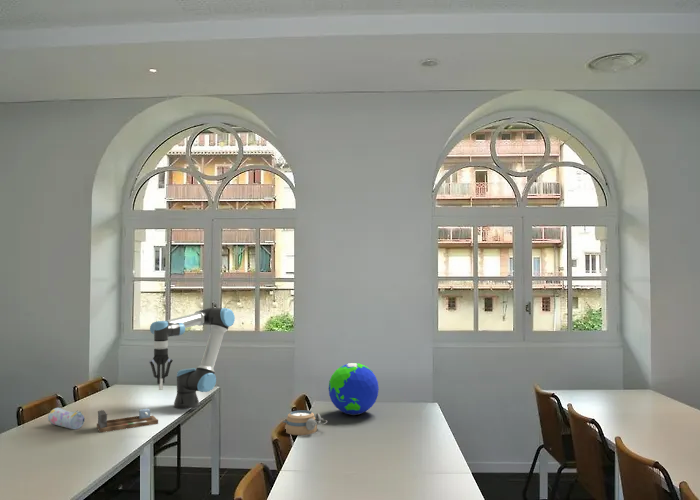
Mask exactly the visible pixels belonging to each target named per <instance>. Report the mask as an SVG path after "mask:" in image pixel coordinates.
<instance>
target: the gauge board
mask: <svg viewBox="0 0 700 500" xmlns="http://www.w3.org/2000/svg"><path fill="white" fill-rule="evenodd" d="M152 425H159V419H158V418H156V417H155V416H154V415H150V417H149V418H142V419H139V415H136V416H134V415H133V416H129V417H121V418H113V419H109V420H108V413H107V412H106V411H105V410H103V409H101V410H98V411H97V423H96V428H97V430H98V431H100V432H101V433H107V432H113V430H114V431H119V430H120V429H121V430H126V428H127V429H132V428H133V427H134V428H140V427H146V426H152ZM134 428H133V429H134ZM106 431H107V432H106ZM100 432H99V433H100Z"/></svg>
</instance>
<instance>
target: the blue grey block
mask: <svg viewBox="0 0 700 500" xmlns="http://www.w3.org/2000/svg"><path fill="white" fill-rule="evenodd" d="M138 416H139V419H142V418H149V417H150V416H151V409H149V408H143V409H139V410H138Z"/></svg>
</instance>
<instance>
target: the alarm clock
mask: <svg viewBox="0 0 700 500" xmlns="http://www.w3.org/2000/svg"><path fill="white" fill-rule="evenodd" d="M322 421H324V423H321V422H322ZM282 423H285V425H284V430H285V429H286V432H285V433H286V434H288V435H292V436H306V435H312V434H314V433H316V432H317V431H318V425H319V426H321V425H322V426H323V425H325V424H327V423H328V420H326V419H324V417H321V414H320V413H319V412H318V413H316V415H315V414H314V413H313V411H309V410H299V409H298V410H294V411H290V412H289V413H288V414H287V418H286V420H284V421H282Z"/></svg>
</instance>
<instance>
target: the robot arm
mask: <svg viewBox="0 0 700 500" xmlns="http://www.w3.org/2000/svg"><path fill="white" fill-rule="evenodd" d="M234 313H235V312H233V310H232V309H230V308H227V307H208V308H204V309H201V310H197V311H195V312H194V313H191V314H188V315H183V316H179V317H176V318H170V319H167V320H157V321H154V322H152V323H151V324H150V327H149V331H150V333H151V334H153V340H154V341H153V345H154V346H153V348H154V349H153V357H152V360H149V361H148V364H149V365H150V366H151V370H152V374H153V377H154V378H155V379H156V384H157V385H158V390H160V391H163V390H164V389H163V388H164V385H163V384H165V382H166V381H165V378H166V377H169V372H170V368H171V365H172V362H173V359H171V358H170V357H169V349H168V347H169V337H178V336H182V335H184V334H185V332H186V329H187V328H190V327H193V326H194V327H195V326H199V327H200V326H209V327H210V332H209V336H208V339H207V342H206V346H205V349H204V352H203V355H202V359H201V360H200V361H201V362H200V364H199V365H198V366H197V367H196V368H195V367H191V368H184V369H183V368H182V369H179V370H178V371H177V372H176V396H175V400H174V402H173V407H174V408H175V409H181V410H183V409H191V408H196V407H198V406H199V405H200V403H199V402H200V400H199V398H198V394H197V392H200V393H208V392H211V391H212V390H213V389H214V388H215V386H216V384H217V377H216V371H215V370H214V368H215V364H216V361H217V359H218V356H219V352H220V348H221V345H222V342H223V339H224V335H225V333H227V332H228V330H229V328H230V327H232V326H233V325H234V324H235V319H236V317H235V314H234ZM155 365H156V366H155ZM155 367H156V368H155ZM165 367H166V368H165Z"/></svg>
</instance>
